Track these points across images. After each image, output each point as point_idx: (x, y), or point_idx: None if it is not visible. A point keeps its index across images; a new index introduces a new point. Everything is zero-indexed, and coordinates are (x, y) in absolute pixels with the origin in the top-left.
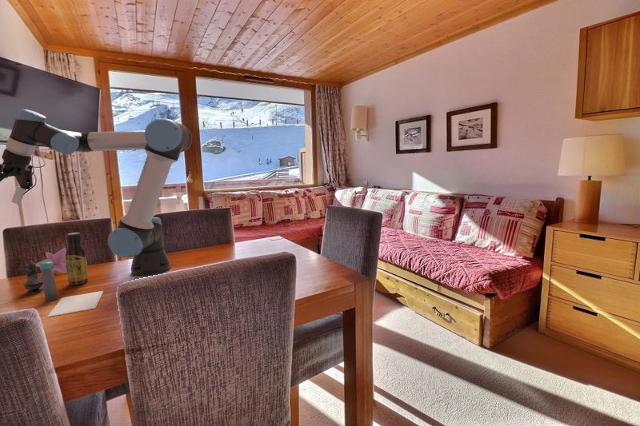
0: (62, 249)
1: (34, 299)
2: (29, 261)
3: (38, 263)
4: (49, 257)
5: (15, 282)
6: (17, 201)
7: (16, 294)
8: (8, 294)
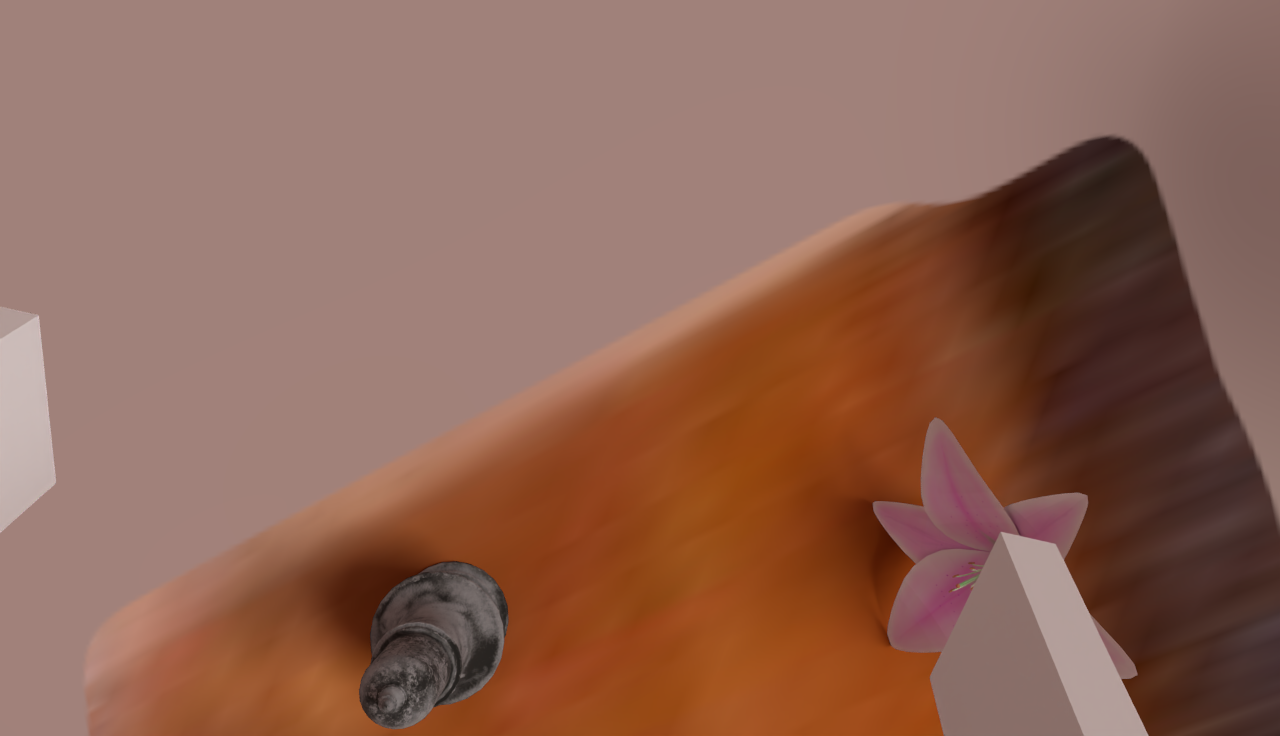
0: (1114, 647)
1: (262, 703)
2: (383, 701)
3: (953, 445)
4: (1031, 521)
5: (769, 327)
6: (959, 703)
7: (431, 508)
8: (454, 446)
